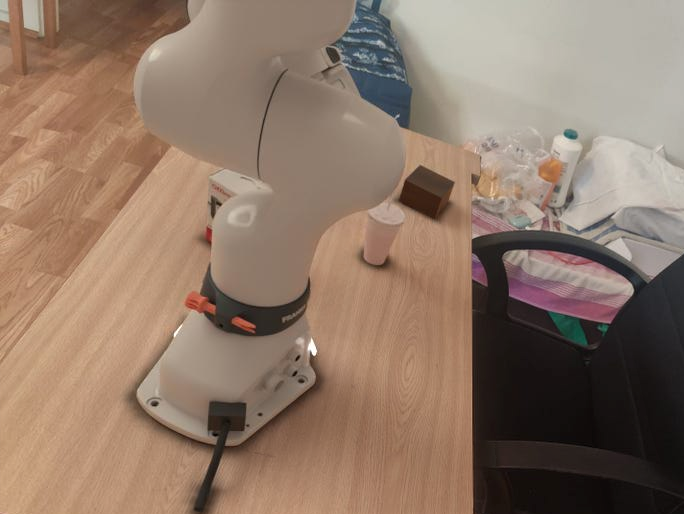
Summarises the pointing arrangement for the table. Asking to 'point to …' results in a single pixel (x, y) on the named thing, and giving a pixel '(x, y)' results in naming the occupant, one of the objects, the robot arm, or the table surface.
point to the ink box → (226, 192)
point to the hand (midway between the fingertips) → (344, 158)
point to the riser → (426, 191)
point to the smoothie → (382, 230)
